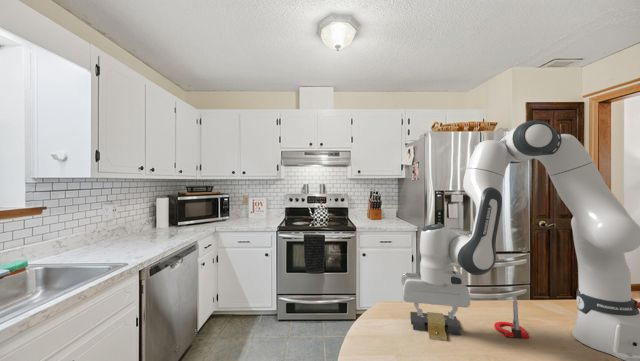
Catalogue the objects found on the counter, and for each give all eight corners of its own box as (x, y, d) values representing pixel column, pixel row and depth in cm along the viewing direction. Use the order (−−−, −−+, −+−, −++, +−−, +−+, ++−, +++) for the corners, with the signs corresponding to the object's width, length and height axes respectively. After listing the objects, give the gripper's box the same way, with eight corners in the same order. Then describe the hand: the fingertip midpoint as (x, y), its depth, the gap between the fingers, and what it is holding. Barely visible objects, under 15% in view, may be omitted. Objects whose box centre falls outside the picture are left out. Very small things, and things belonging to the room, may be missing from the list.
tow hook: (490, 324, 98) (502, 337, 88) (488, 285, 98) (501, 295, 89) (517, 325, 96) (533, 339, 87) (515, 286, 97) (531, 296, 88)
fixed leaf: (455, 319, 100) (455, 312, 100) (461, 335, 90) (461, 327, 90) (410, 314, 104) (410, 307, 104) (411, 329, 94) (411, 321, 94)
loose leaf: (443, 328, 94) (443, 313, 94) (446, 341, 87) (446, 324, 87) (427, 326, 96) (426, 311, 96) (429, 338, 88) (428, 322, 88)
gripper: (401, 275, 93) (402, 318, 93) (470, 280, 88) (471, 325, 88) (401, 269, 100) (402, 309, 100) (466, 273, 94) (467, 316, 94)
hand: (435, 317), depth 94 cm, fingers open, 8 cm apart
